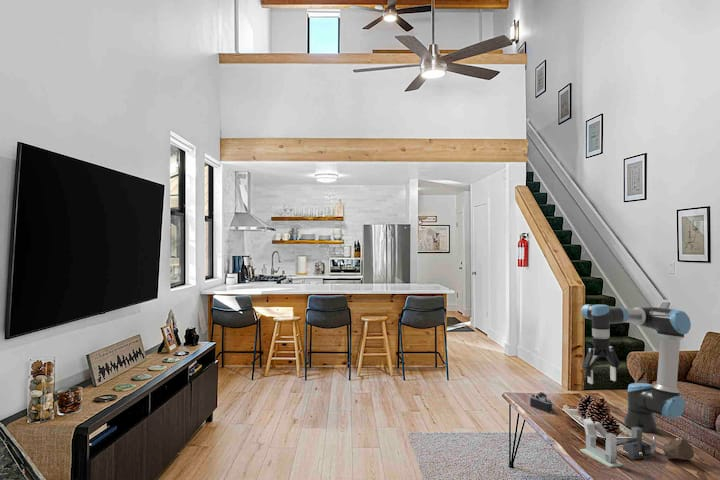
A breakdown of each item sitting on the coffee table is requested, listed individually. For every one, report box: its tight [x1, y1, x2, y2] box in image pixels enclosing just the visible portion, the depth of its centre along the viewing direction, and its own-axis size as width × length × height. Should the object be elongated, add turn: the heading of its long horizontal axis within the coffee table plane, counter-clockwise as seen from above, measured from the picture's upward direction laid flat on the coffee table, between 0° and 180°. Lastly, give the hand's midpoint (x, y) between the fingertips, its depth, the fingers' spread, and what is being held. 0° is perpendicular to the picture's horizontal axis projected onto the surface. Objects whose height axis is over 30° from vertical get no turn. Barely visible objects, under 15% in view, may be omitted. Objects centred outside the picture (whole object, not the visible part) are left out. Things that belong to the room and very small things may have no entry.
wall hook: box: [582, 418, 609, 440], centre depth 237 cm, size 8×10×10 cm
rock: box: [662, 437, 695, 461], centre depth 215 cm, size 12×10×10 cm
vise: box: [616, 427, 657, 460], centre depth 220 cm, size 24×8×12 cm, turn 106°
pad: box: [579, 447, 624, 469], centre depth 215 cm, size 7×18×1 cm, turn 16°
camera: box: [529, 391, 554, 414], centre depth 282 cm, size 16×8×10 cm, turn 27°
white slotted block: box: [585, 432, 618, 464], centre depth 216 cm, size 3×15×12 cm, turn 16°
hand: (601, 382), depth 226 cm, fingers open, 13 cm apart
